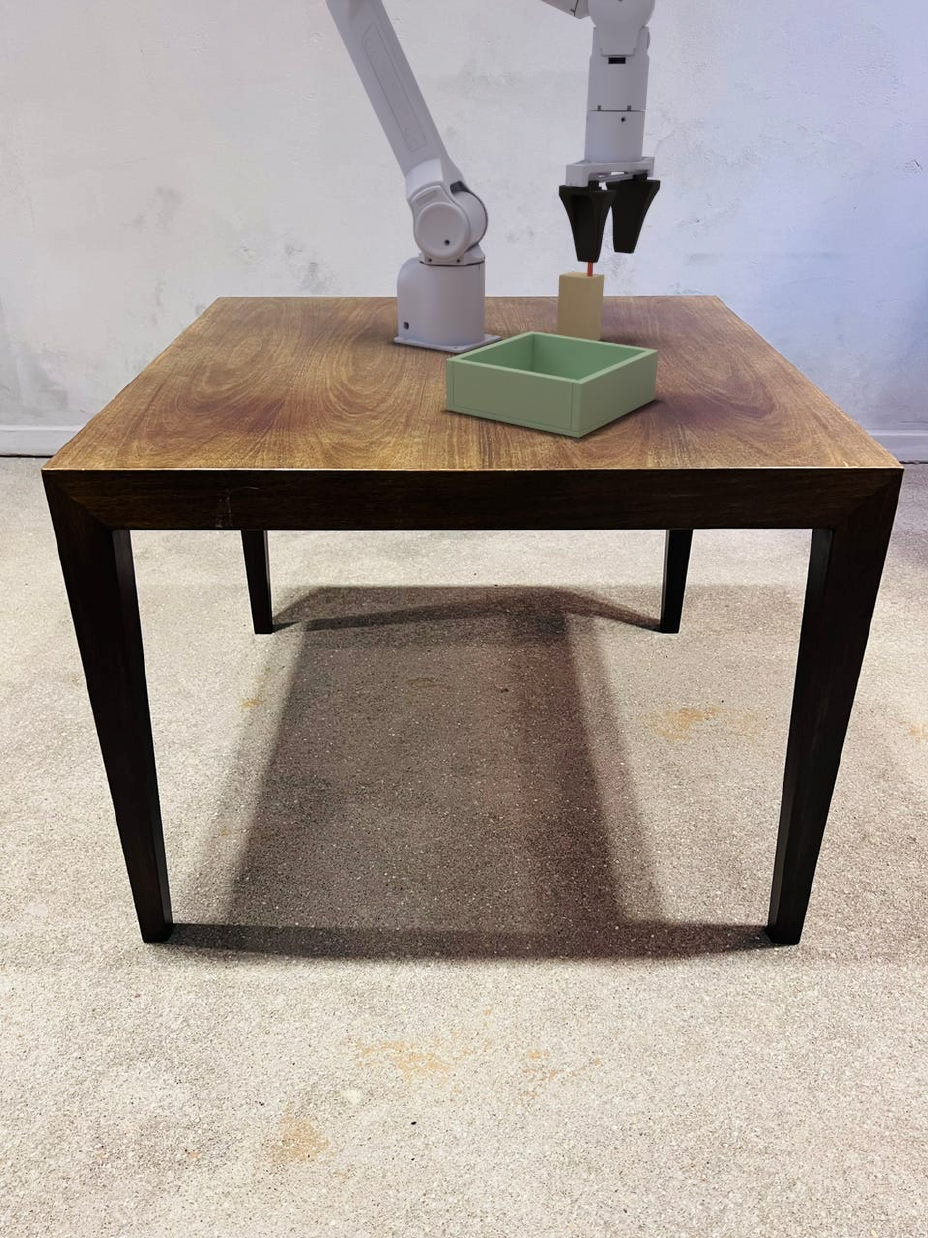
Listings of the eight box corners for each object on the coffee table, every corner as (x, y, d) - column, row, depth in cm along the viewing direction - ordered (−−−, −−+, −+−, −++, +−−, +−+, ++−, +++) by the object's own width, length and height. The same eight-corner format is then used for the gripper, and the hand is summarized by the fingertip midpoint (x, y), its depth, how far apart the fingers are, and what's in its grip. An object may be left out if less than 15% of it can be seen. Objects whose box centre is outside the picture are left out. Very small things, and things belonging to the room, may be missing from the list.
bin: (446, 409, 87) (445, 359, 85) (529, 376, 97) (530, 330, 95) (578, 438, 80) (581, 383, 78) (654, 399, 90) (658, 349, 88)
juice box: (556, 339, 111) (560, 247, 106) (570, 334, 113) (574, 244, 108) (587, 344, 109) (592, 250, 104) (600, 339, 111) (606, 247, 106)
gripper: (615, 112, 89) (605, 270, 95) (686, 109, 99) (672, 252, 105) (549, 111, 92) (543, 263, 99) (624, 108, 103) (614, 246, 109)
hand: (606, 257), depth 102 cm, fingers open, 7 cm apart
